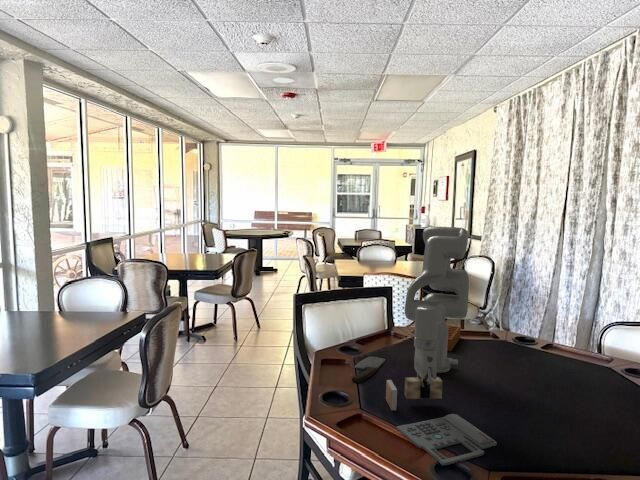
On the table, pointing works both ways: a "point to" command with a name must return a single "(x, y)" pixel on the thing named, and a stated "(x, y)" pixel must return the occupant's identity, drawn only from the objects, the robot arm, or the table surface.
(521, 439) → the table surface
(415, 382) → the tan wooden block
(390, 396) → the tile
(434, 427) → the office telephone
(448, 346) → the brick
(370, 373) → the cleaver
